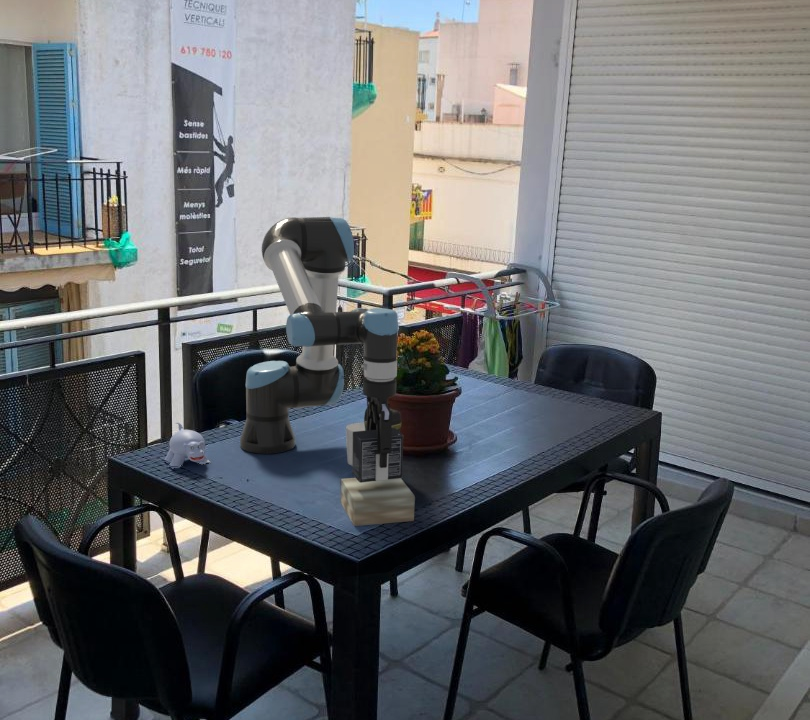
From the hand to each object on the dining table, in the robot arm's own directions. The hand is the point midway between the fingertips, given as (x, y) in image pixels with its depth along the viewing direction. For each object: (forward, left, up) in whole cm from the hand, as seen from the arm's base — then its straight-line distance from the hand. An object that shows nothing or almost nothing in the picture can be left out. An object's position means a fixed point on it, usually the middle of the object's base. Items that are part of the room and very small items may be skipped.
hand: (377, 474), depth 214 cm
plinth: (0, 0, -9) cm, 9 cm away
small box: (0, 0, -1) cm, 1 cm away
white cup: (-33, +4, -9) cm, 35 cm away
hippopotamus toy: (-41, -40, -10) cm, 58 cm away
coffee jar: (-22, +7, -9) cm, 25 cm away
